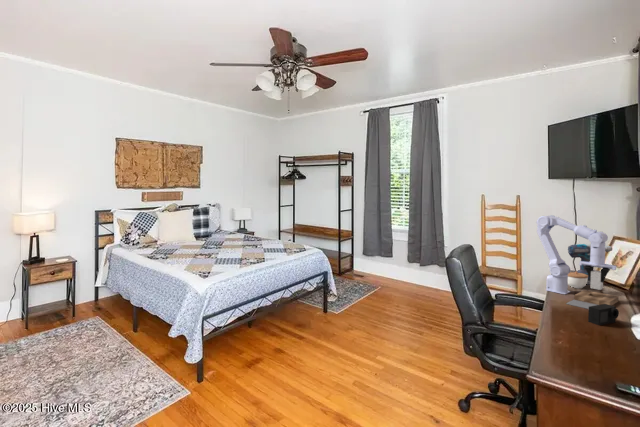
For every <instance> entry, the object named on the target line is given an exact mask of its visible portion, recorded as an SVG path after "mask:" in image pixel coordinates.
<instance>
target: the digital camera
mask: <svg viewBox="0 0 640 427" xmlns="http://www.w3.org/2000/svg"><path fill="white" fill-rule="evenodd" d="M619 314H620V311H619V309H617V307H616V306H614V305H612V306H611V305H608V304H601V305H598V304H596V305H595V306H590V307H589V309H588V316H587V318H588V319H587V321H588V323H590V324H593V325H594V324H595V325H597V326H604V325H608V324H613V323H616V322H617V319H618V318H619V316H620V315H619Z"/></svg>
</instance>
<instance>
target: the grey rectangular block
mask: <svg viewBox="0 0 640 427" xmlns="http://www.w3.org/2000/svg"><path fill="white" fill-rule="evenodd" d="M589 286H590V289H592V290H593V289H594V290H598V291H601V290H603V289H604V282H601V270H595V269H593V271H591V284H590V285H589Z"/></svg>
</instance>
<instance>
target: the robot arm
mask: <svg viewBox="0 0 640 427" xmlns="http://www.w3.org/2000/svg"><path fill="white" fill-rule="evenodd" d="M535 223H536V226H537V227H536V233H537V235H538V238H539V240H540V242H541V245H542V246H543V249H544V251H545V254H546V255H547V257H548V259H549V263H548V266H549V272H550V274H548V275H547V277H546V286H545V291H548V292H552V293H557V294H561V295H567V294H569V293H571V290H568V289H569V288H568V287H569V285H568V274H569V273H570V272H571V267H570V266H569V265H568V264H567V263H566V261H565V260H564V259H562V258H561V255H560V254H559V251H558V249H557V247H556V244H555V243H554V241H553V239H552V237H551V234H550V232H551V230H552V229H553V228H554V227H555V226H559V227H563V228H565V229H567V230H570V231H572V232H574V234H575V235H577V236H579V237H581V238H583V239H586V240H588V242H590V244H591V252H590V262H584V261H581V260H580V261H579V264H578V265H579V266H580V265H584V266H585V269H586V271H587V273H588V275H589V279H590V280H591V271H593V270H595V269H594V268H600V271H601V282H603V283H604V282H605V279H606V277H607V275H608V273H609V272H610V271H611V270H613V271H616V270H617V265H613V264H607V263H606V252H605V246H606V242H607V241H608V235H607V234H606V233H605V232H603V231H598V230H597V229H593V228H590V227H588V226H587V225H586V224H584V225H583V224H580V225H577V224H574V223H573V222H570V221H568V220H566V219H563V218H561V217H559V216H555V215H553V214H550V215H542V216H539V217H538V218H537V220H536V222H535Z"/></svg>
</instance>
